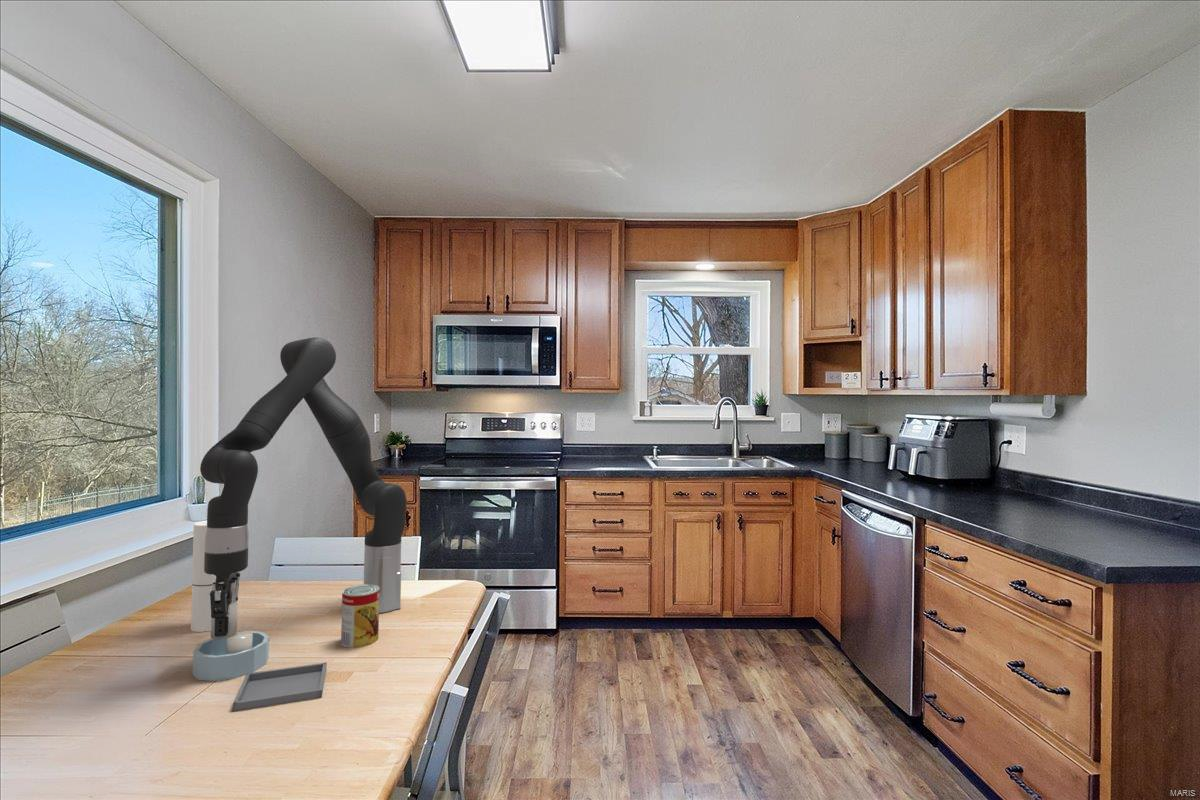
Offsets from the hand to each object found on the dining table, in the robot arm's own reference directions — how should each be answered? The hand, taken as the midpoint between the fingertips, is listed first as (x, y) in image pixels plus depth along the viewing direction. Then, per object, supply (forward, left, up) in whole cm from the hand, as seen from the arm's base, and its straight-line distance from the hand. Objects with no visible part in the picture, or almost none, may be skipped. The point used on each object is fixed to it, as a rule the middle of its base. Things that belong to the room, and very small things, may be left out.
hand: (224, 630), depth 116 cm
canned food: (-26, -5, -8) cm, 27 cm away
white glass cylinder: (-3, +2, -7) cm, 8 cm away
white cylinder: (0, 0, -1) cm, 1 cm away
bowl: (-2, 0, -8) cm, 8 cm away
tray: (-13, +14, -8) cm, 21 cm away
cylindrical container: (+8, -27, -8) cm, 29 cm away
